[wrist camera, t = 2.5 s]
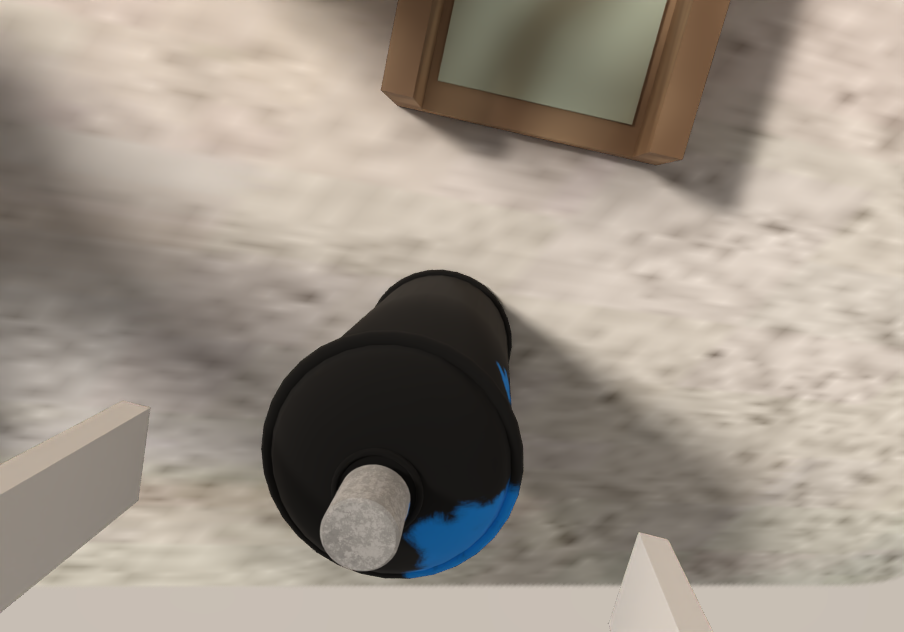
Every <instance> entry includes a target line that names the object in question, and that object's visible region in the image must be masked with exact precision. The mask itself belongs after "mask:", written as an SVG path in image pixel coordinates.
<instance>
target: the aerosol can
mask: <svg viewBox="0 0 904 632" xmlns="http://www.w3.org/2000/svg"><path fill="white" fill-rule="evenodd" d="M511 348H512V344H511V330H510V326H509V321H508V318H507V316H506V314H505V312H504V309H503V307H502V306H501V304H500V303H499V301H498V300H497V299H496V297H495V296H494V295H493V294H492V293H491V292H490V291H489V290H488V289H487V288H486V287H485V286H484V285H482V284H481V283H479V282H478V281H476V280H474V279H473V278H471V277H469V276H466V275H463V274H461V273H458V272H453V271H447V270H427V271H423V272H419V273H414V274H412V275H410V276H408V277H405V278H403V279H401V280H400V281H398V282H397V283H396V284H394V285H393V286H392V287H390V288H389V289H388V290H387V291H386V292H385V294H384V295H383V296H382V297H381V298H380V300H379V301H378V303H377V305H376V306H375V308H374V309H372V310H371V311H370V312H369V313H368V314H367V315H366V316H365V317H363V318H362V319H361V320H360V321H359V322H358V323H357V324H355V325H354V326H353V327H352V328H351V329H350V330H349V331H348V332H346V333H345V334H344V335H343V336H342V337H341V338H339V339H337V340H335V341H332V342H330V343H328V344H326V345H323V346H321V347H320V348H318V349H317V350H315V351H314V352H313V353H311V354H310V355H309V356H307V357H306V358H304V359H303V360H302V361H300V362H299V363H298V364H297V366H296V367H295V368H294V369H293V370H292V371H291V372H290V373H289V374H288V376H287V377H286V378H285V379H284V380H283V382H282V384H281V385H280V387H279V389H278V390H277V392H276V394H275V396H274V397H273V399H272V401H271V404H270V407H269V410H268V414H267V417H266V420H265V423H264V428H263V438H262V448H261V450H262V460H263V469H264V475H265V478H266V481H267V484H268V488H269V491H270V494H271V497H272V498H273V500H274V502H275V504H276V506H277V508H278V510H279V511H280V513H281V515H282V517H283V518H284V519H285V521H286V522H287V523H288V524H289V526H290V527H291V528H292V529H293V531H294V532H295V533H296V534H297V536H298V537H300V538H301V539H302V540H303V541H304V542H305V543H306V544H308V545H309V546H310V547H311V548H312V549H313V550H315V551H316V552H317V553H319V554H320V555H322V556H324V557H325V558H327V559H329V560H331V561H332V562H334V563H336V564H337V565H340V566H342V567H345V568H347V569H350V570H353V571H355V572H358V573H361V574H366V575H371V576H376V577H381V578H404V579H410V578H416V577H422V576H428V575H434V574H436V573H439V572H442V571H445V570H447V569H450V568H453V567H455V566H457V565H459V564H461V563H462V562H464V561H466V560H467V559H469V558H471V557H472V556H474V555H476V554H477V553H478V552H479V551H480V550H481V549H483V548H484V547H485V546H486V545H487V544H488V543H489V542H490V541H491V540H492V539H493V538H494V537H495V536H496V535H497V533H498V532H499V530H500V529H501V528H502V526H503V525H504V523H505V522H506V521H507V519H508V518H509V516H510V513H511V511H512V509H513V506H514V504H515V502H516V499H517V497H518V495H519V490H520V485H521V480H522V475H523V444H522V440H521V435H520V431H519V426H518V422H517V420H516V417H515V415H514V413H513V411H512V408H511V393H510V378H509V359H510V353H511Z"/></svg>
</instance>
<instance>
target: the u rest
mask: <svg viewBox="0 0 904 632" xmlns="http://www.w3.org/2000/svg"><path fill="white" fill-rule="evenodd" d="M729 3H730V0H398V4H397V9H396V14H395V19H394V25H393V30H392V35H391V40H390V45H389V50H388V56H387V61H386V66H385V71H384V76H383V82H382V87H381V91H382V92H383V93H384V94H386V95H387V96H388V97H389V98H390V99H391V100H392V101H393V102H394V103H395V104H396V105H397V106H402V107H406V108H410V109H415V110H419V111H423V112H428V113H432V114H436V115H441V116H445V117H449V118H454V119H458V120H462V121H467V122H471V123H475V124H480V125H484V126H488V127H493V128H497V129H501V130H506V131H510V132H514V133H519V134H523V135H527V136H532V137H536V138H540V139H545V140H549V141H553V142H558V143H562V144H566V145H571V146H575V147H579V148H584V149H588V150H592V151H597V152H601V153H605V154H610V155H614V156H618V157H623V158H627V159H631V160H636V161H640V162H644V163H649V164H653V165H660V164H664V163H669V162H674V161H678V160H682V159H683V156H684V153H685V149H686V146H687V143H688V139H689V136H690V133H691V129H692V126H693V123H694V119H695V116H696V113H697V109H698V106H699V103H700V99H701V96H702V93H703V90H704V86H705V83H706V80H707V76H708V73H709V70H710V66H711V63H712V60H713V56H714V53H715V50H716V46H717V43H718V40H719V36H720V33H721V30H722V26H723V23H724V20H725V16H726V13H727V10H728V6H729Z"/></svg>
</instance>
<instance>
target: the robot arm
mask: <svg viewBox="0 0 904 632" xmlns="http://www.w3.org/2000/svg"><path fill="white" fill-rule="evenodd" d="M149 414H150V407H146V406H142V405H138V404H134V403H130V402H126V401H121V402H119V403H117V404H115V405H114V406H112V407H110V408H108V409H106V410H104V411H102V412H100V413H98V414H96V415H94V416H92V417H91V418H89V419H87V420H85V421H83V422H81V423H79V424H77V425H75V426H73V427H71V428H69V429H67V430H66V431H64V432H62V433H60V434H58V435H56V436H54V437H52V438H50V439H48V440H46V441H44V442H42V443H41V444H39V445H37V446H35V447H33V448H31V449H29V450H27V451H25V452H23V453H21V454H19V455H17V456H16V457H14V458H12V459H10V460H8V461H6V462H4V463H2V464H0V613H1V612H2V611H3V610H5V609H6V608H7V607H8V606H9V605H11V604H12V603H13V602H14V601H16V600H17V599H18V598H19V597H21V596H22V595H23V594H24V593H25V592H27V591H28V590H29V589H30V588H31V587H33V586H34V585H35V584H36V583H38V582H39V581H40V580H41V579H43V578H44V577H45V576H46V575H48V574H49V573H50V572H51V571H52V570H54V569H55V568H56V567H57V566H59V565H60V564H61V563H62V562H63V561H65V560H66V559H67V558H68V557H70V556H71V555H72V554H73V553H74V552H76V551H77V550H78V549H79V548H81V547H82V546H83V545H84V544H86V543H87V542H88V541H89V540H90V539H92V538H93V537H94V536H95V535H97V534H98V533H99V532H100V531H101V530H103V529H104V528H105V527H106V526H108V525H109V524H110V523H111V522H112V521H114V520H115V519H116V518H117V517H119V516H120V515H121V514H122V513H124V512H125V511H126V510H127V509H128V508H130V507H131V506H132V505H133V504H135V503H136V502H137V501H138V499H139V491H140V483H141V476H142V468H143V460H144V453H145V445H146V437H147V430H148V422H149ZM609 627H610V631H611V632H713V631H712V629H711V626H710V624H709V622H708V620H707V618H706V616H705V614H704V612H703V610H702V608H701V606H700V604H699V602H698V600H697V598H696V596H695V594H694V592H693V590H692V588H691V585H690V583H689V581H688V579H687V577H686V575H685V573H684V571H683V569H682V567H681V565H680V563H679V561H678V559H677V557H676V555H675V553H674V551H673V549H672V547H671V544H670V542H669V540H668V539H664V538H660V537H656V536H652V535H648V534H644V533H640V532H638V535H637V538H636V541H635V545H634V548H633V551H632V554H631V557H630V560H629V563H628V566H627V569H626V572H625V575H624V578H623V581H622V584H621V587H620V591H619V593H618V596H617V600H616V603H615V606H614V609H613V612H612V615H611V618H610V621H609Z"/></svg>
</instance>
